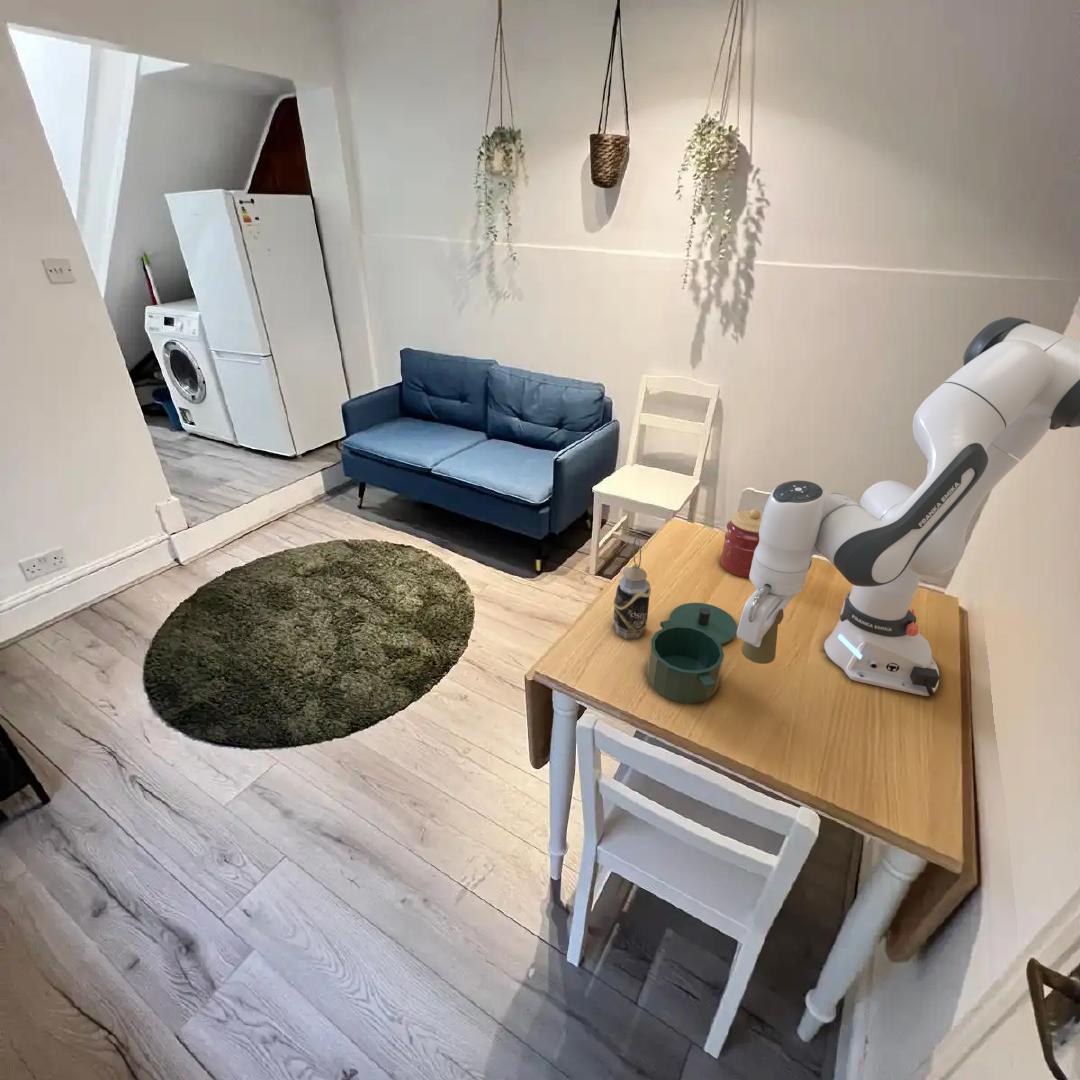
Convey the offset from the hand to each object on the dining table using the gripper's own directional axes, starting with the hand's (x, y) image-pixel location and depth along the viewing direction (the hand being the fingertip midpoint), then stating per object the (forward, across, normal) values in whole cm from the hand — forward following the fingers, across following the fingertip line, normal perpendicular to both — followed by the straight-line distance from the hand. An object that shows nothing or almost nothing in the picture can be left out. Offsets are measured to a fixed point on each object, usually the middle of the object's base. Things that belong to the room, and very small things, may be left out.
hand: (762, 635), depth 105 cm
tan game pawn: (+4, 0, 0) cm, 4 cm away
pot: (+19, 0, +14) cm, 24 cm away
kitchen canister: (+20, +51, +22) cm, 59 cm away
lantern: (+20, +6, +31) cm, 37 cm away
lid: (+19, +19, +18) cm, 32 cm away
